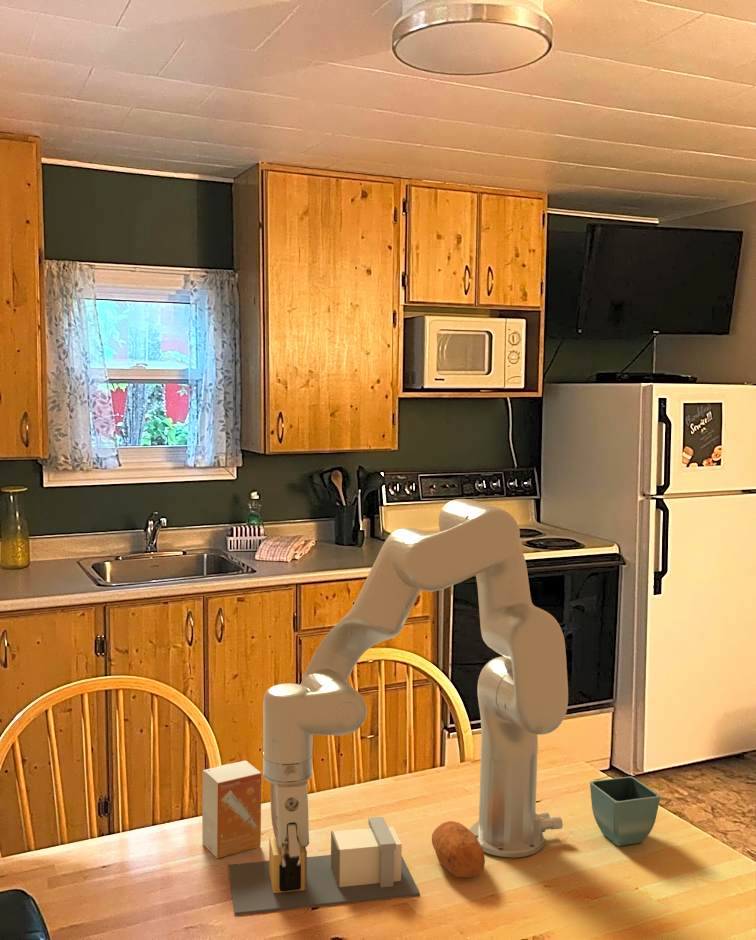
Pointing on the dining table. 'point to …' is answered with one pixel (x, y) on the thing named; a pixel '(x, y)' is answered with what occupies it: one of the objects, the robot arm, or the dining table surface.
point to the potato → (458, 849)
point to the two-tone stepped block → (366, 855)
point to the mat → (322, 890)
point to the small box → (231, 808)
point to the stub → (276, 862)
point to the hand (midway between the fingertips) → (287, 877)
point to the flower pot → (624, 809)
